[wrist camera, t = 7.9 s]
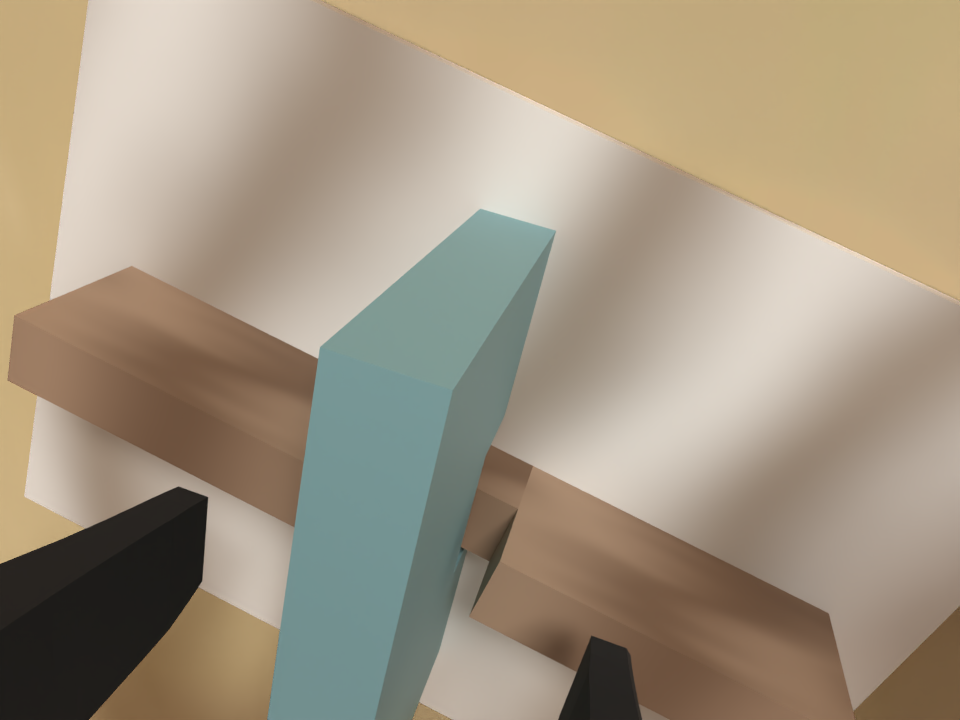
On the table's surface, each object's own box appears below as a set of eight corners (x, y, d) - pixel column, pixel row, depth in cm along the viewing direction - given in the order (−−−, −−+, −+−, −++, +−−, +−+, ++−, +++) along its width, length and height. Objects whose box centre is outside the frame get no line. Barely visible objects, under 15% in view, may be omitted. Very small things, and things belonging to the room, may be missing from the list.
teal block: (556, 230, 15) (452, 390, 8) (439, 650, 20) (319, 954, 14) (480, 208, 15) (320, 347, 8) (384, 630, 20) (239, 919, 14)
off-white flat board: (1149, 390, 14) (1310, 514, 10) (708, 836, 21) (714, 998, 18) (118, -95, 15) (-58, -135, 11) (37, 487, 22) (-86, 573, 19)
